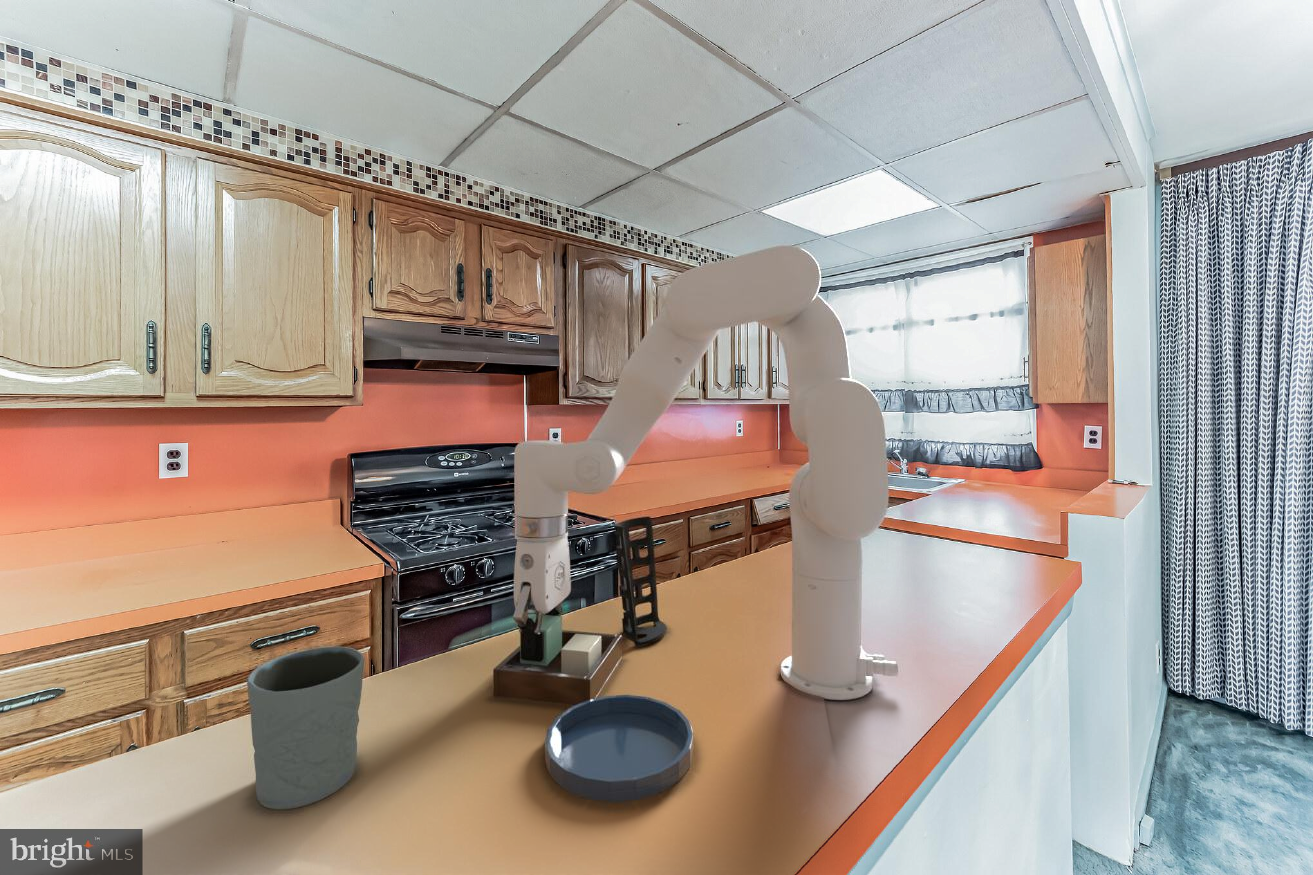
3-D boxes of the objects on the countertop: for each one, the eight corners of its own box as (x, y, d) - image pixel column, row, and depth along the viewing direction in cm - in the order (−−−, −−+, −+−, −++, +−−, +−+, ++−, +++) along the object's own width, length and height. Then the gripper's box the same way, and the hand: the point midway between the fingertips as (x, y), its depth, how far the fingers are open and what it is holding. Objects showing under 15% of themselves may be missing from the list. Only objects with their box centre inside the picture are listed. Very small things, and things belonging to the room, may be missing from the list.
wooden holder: (621, 661, 83) (621, 634, 83) (590, 711, 68) (590, 679, 68) (540, 652, 86) (539, 627, 86) (493, 699, 71) (492, 669, 71)
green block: (562, 649, 80) (562, 616, 80) (546, 666, 74) (546, 630, 74) (537, 646, 81) (537, 614, 81) (520, 663, 75) (519, 628, 75)
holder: (659, 648, 87) (647, 525, 87) (614, 648, 88) (603, 528, 88) (671, 623, 98) (660, 514, 98) (631, 624, 99) (620, 517, 99)
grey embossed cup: (288, 752, 60) (286, 646, 60) (382, 747, 61) (380, 643, 60) (223, 819, 50) (220, 692, 49) (337, 813, 51) (334, 688, 50)
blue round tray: (701, 722, 66) (701, 702, 66) (679, 818, 50) (679, 791, 50) (577, 707, 69) (577, 688, 69) (519, 792, 53) (518, 768, 53)
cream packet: (601, 669, 79) (601, 635, 79) (588, 687, 73) (588, 651, 73) (575, 666, 80) (575, 633, 79) (561, 684, 74) (561, 649, 74)
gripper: (540, 540, 68) (540, 681, 68) (586, 517, 85) (586, 630, 85) (486, 537, 69) (487, 675, 70) (542, 515, 86) (542, 626, 87)
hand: (541, 649), depth 78 cm, fingers closed on green block, 5 cm apart
